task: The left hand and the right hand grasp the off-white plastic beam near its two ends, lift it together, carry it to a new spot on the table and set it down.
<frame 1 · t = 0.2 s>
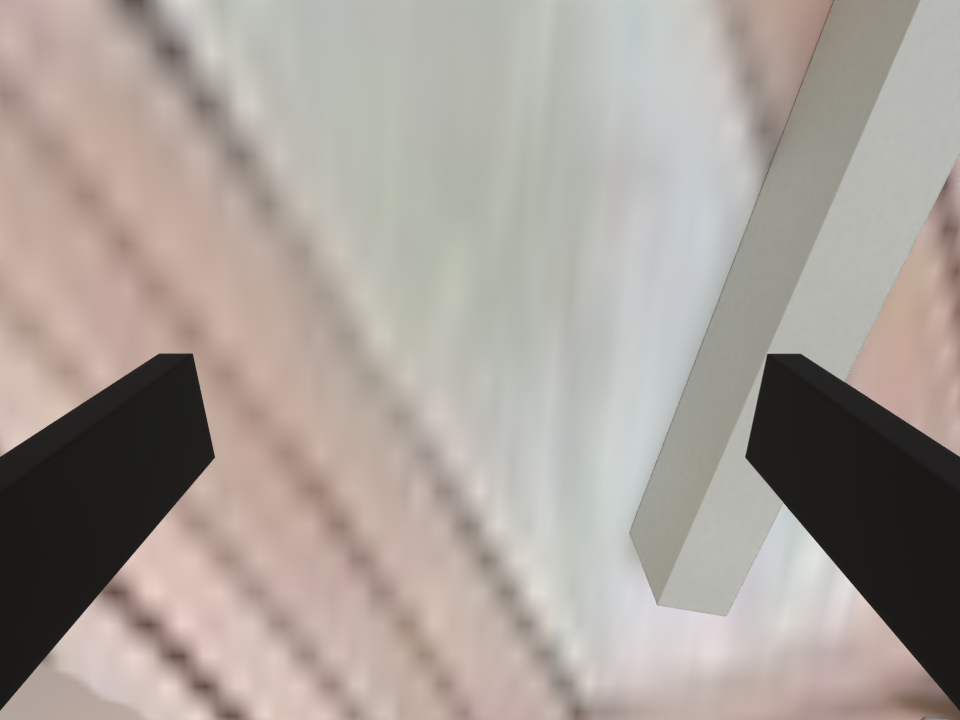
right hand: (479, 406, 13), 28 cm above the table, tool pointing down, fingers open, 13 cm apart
beam: (794, 208, 38), on the table
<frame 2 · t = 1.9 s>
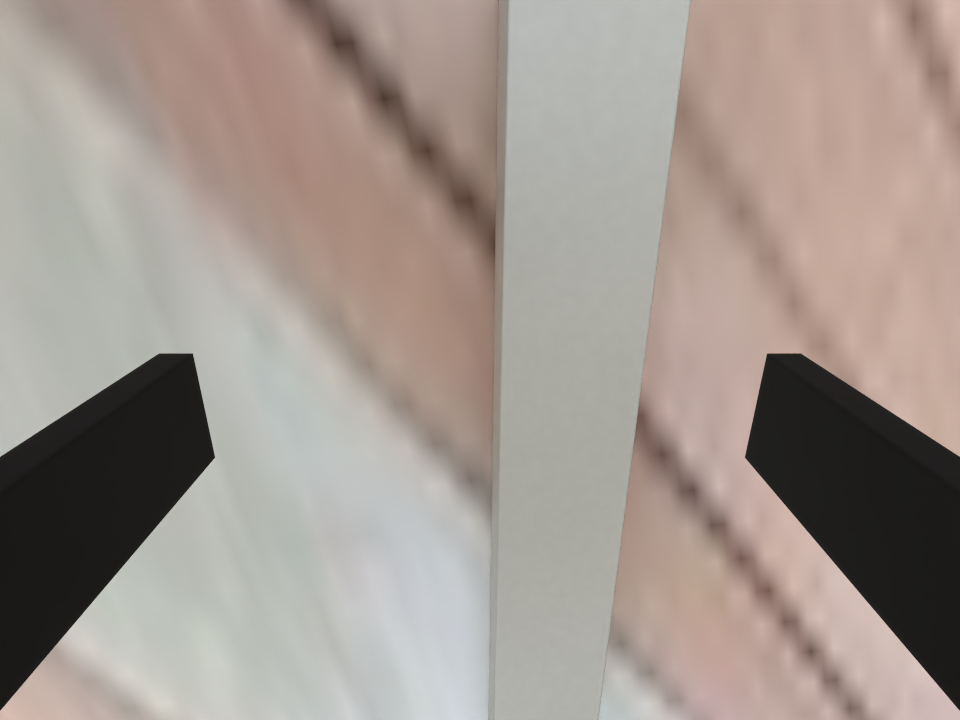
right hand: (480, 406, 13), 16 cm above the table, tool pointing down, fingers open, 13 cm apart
beam: (534, 537, 34), on the table
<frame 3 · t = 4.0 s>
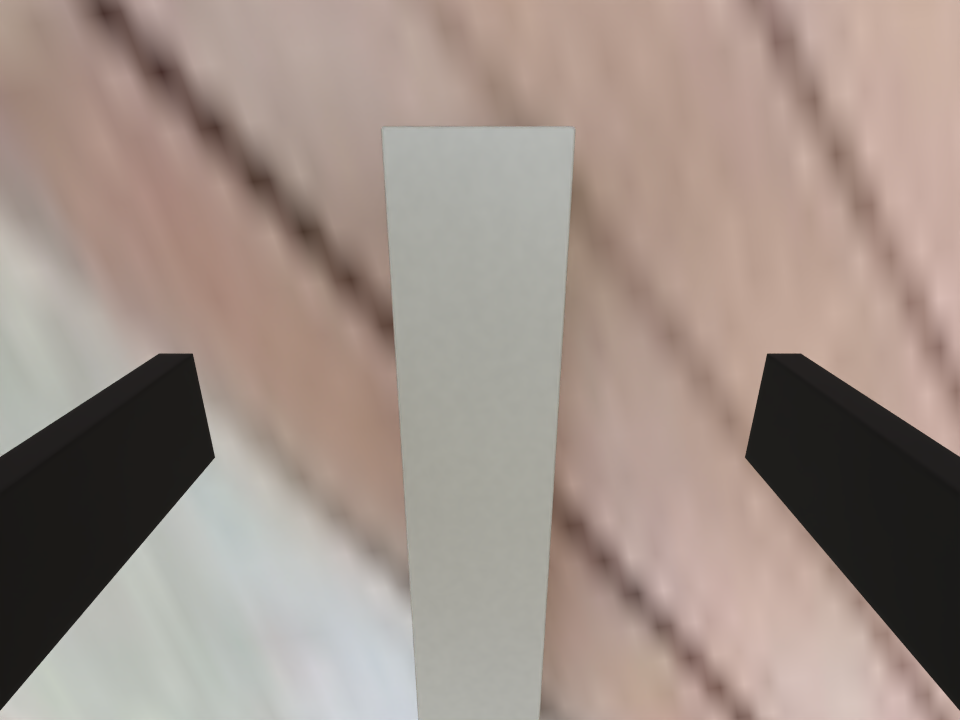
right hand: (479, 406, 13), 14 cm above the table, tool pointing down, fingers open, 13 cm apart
beam: (479, 638, 34), on the table, touching left hand
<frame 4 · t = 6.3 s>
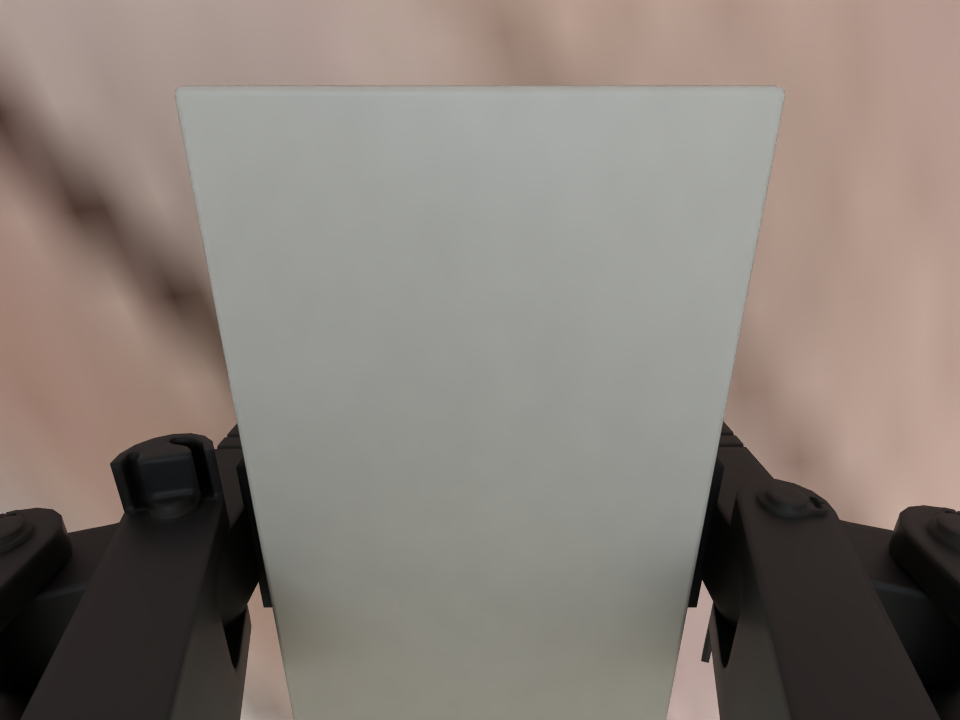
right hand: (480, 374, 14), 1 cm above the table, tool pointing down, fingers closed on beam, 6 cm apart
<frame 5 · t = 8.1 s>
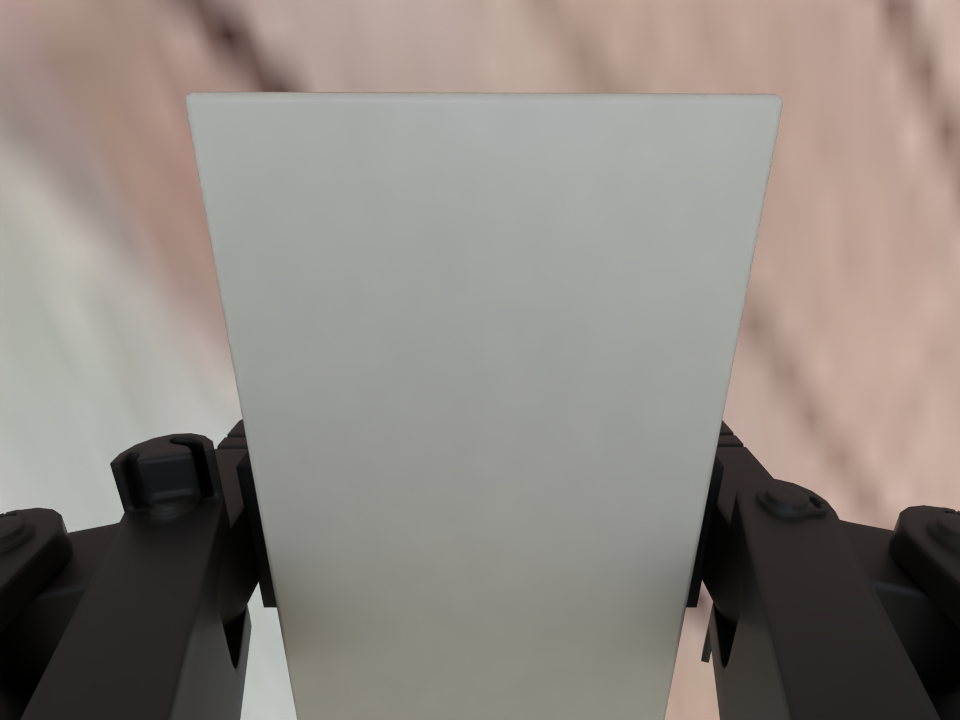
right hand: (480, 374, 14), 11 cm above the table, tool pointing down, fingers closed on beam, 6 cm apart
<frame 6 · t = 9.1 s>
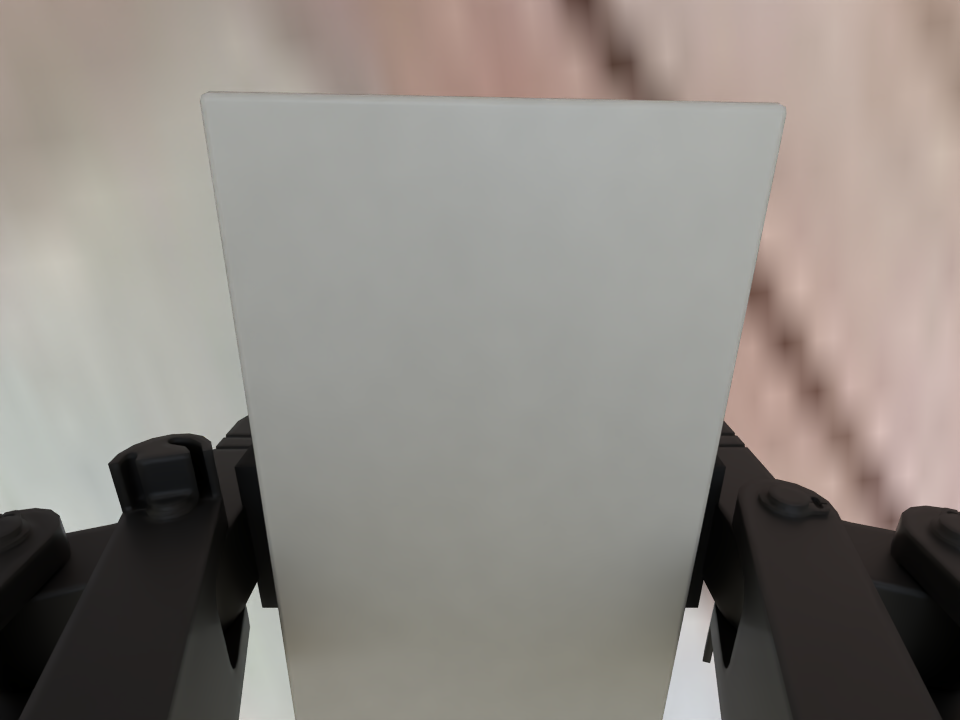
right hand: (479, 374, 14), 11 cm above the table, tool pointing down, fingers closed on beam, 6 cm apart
when the right hand's fingers open (1 cm above the table, at t = 11.9 s): beam stays where it is, held by the left hand.
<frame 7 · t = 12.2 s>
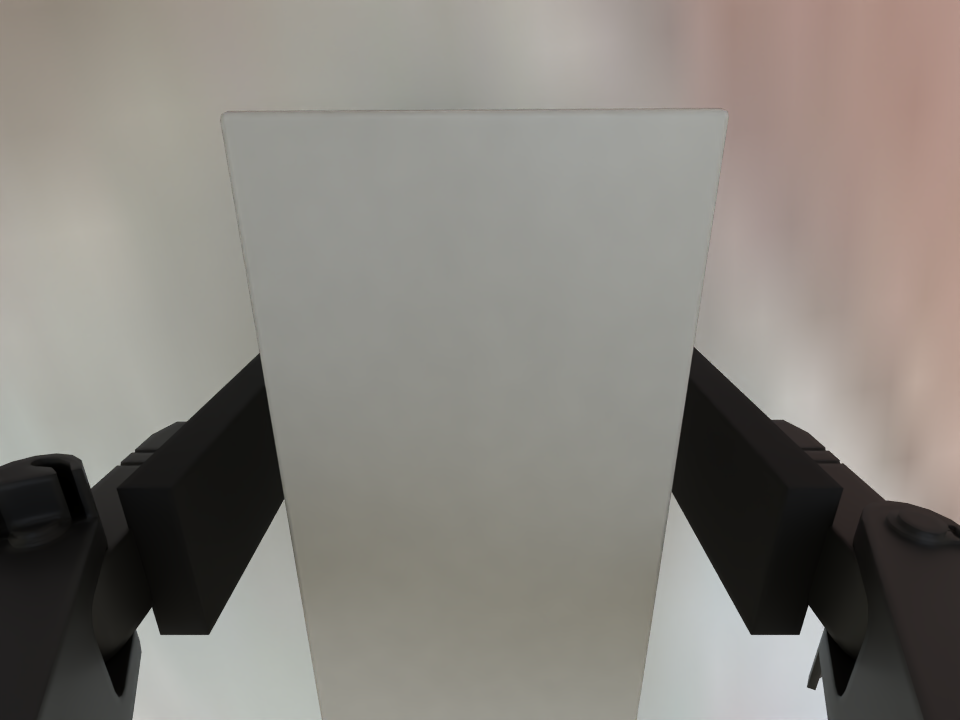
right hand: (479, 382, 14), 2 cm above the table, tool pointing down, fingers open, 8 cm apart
when the left hand's fingers open (4 cm above the table, at t = 12.2 s): beam stays where it is, on the table.
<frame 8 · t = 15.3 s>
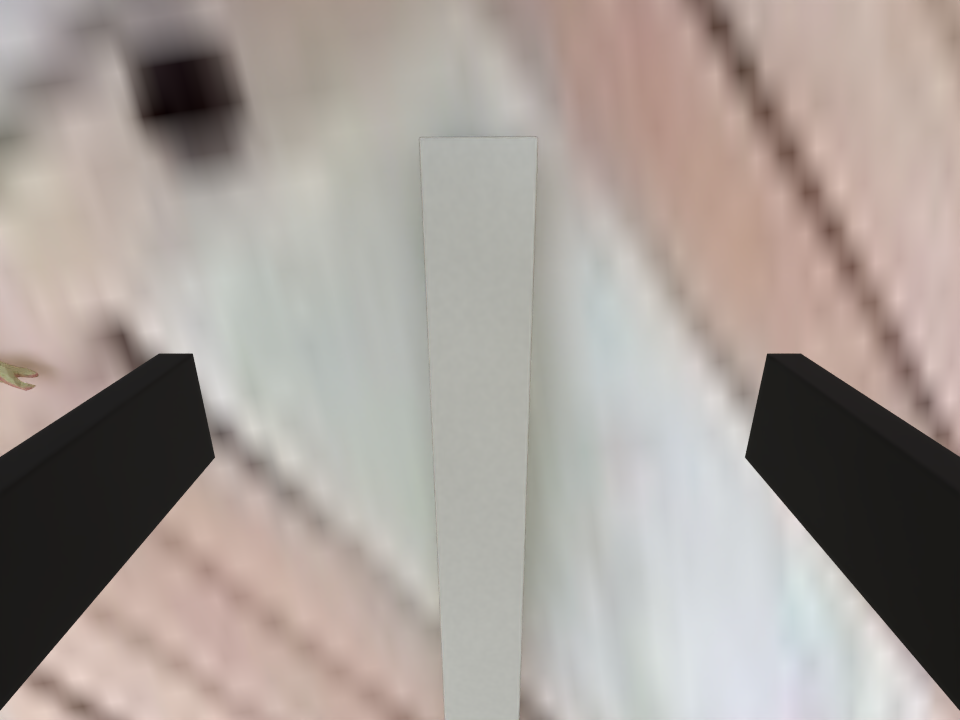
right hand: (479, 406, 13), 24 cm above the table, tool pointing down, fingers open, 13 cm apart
beam: (481, 529, 44), on the table
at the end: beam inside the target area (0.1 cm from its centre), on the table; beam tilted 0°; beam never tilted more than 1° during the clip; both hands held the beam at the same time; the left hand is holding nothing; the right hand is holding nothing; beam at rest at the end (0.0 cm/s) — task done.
